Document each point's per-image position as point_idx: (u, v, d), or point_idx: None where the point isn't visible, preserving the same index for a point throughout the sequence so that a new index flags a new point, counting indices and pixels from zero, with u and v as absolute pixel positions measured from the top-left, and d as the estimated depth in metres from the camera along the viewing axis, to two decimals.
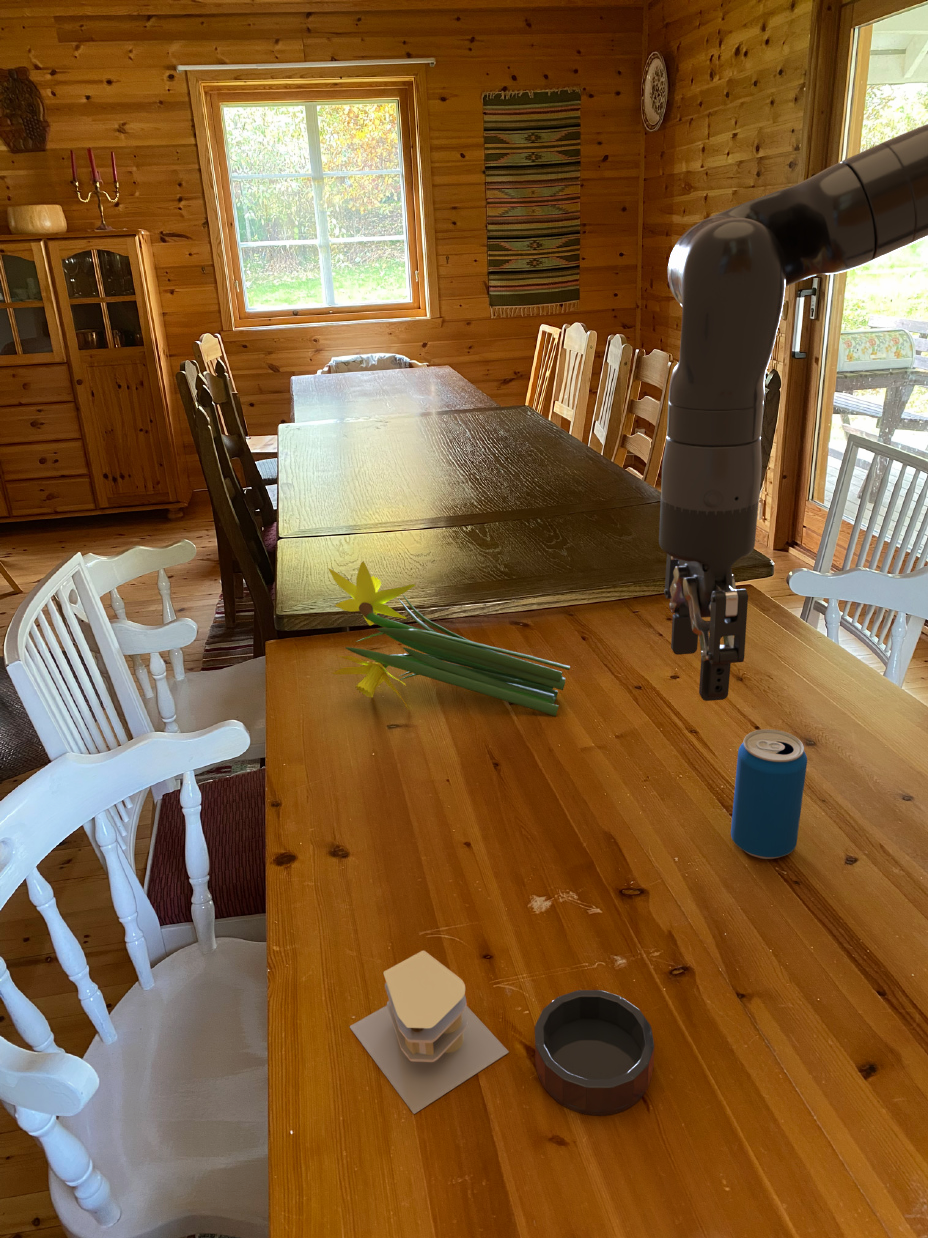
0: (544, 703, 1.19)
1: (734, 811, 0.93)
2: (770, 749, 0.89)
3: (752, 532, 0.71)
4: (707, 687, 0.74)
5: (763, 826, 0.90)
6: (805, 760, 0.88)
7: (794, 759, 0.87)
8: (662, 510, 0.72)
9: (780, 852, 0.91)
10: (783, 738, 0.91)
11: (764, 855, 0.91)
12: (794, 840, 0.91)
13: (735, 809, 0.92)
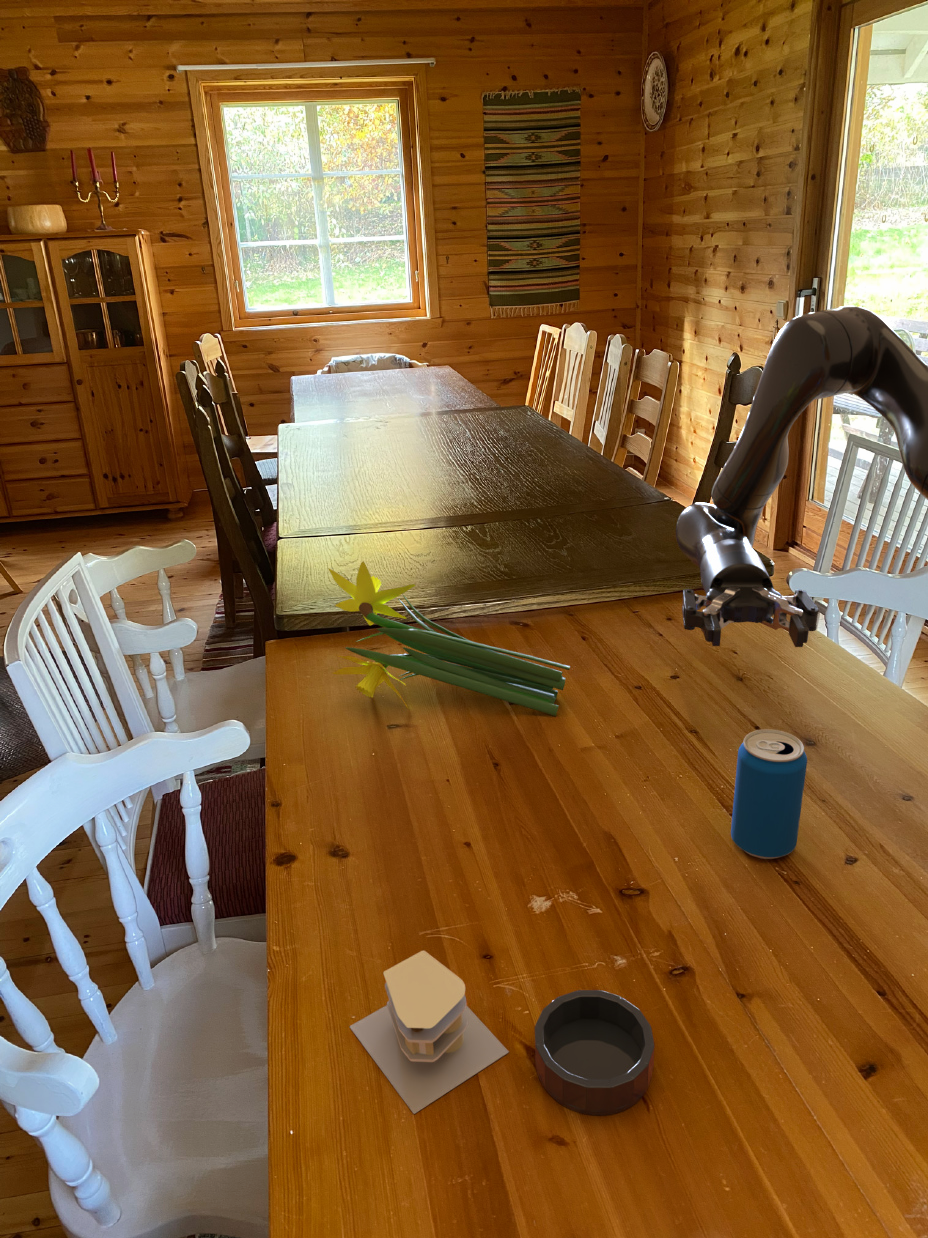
0: (544, 703, 1.19)
1: (734, 811, 0.93)
2: (770, 749, 0.89)
3: (717, 566, 1.08)
4: None
5: (763, 826, 0.90)
6: (805, 760, 0.88)
7: (793, 759, 0.87)
8: None
9: (780, 852, 0.91)
10: (783, 738, 0.91)
11: (764, 855, 0.91)
12: (794, 840, 0.91)
13: (735, 809, 0.92)
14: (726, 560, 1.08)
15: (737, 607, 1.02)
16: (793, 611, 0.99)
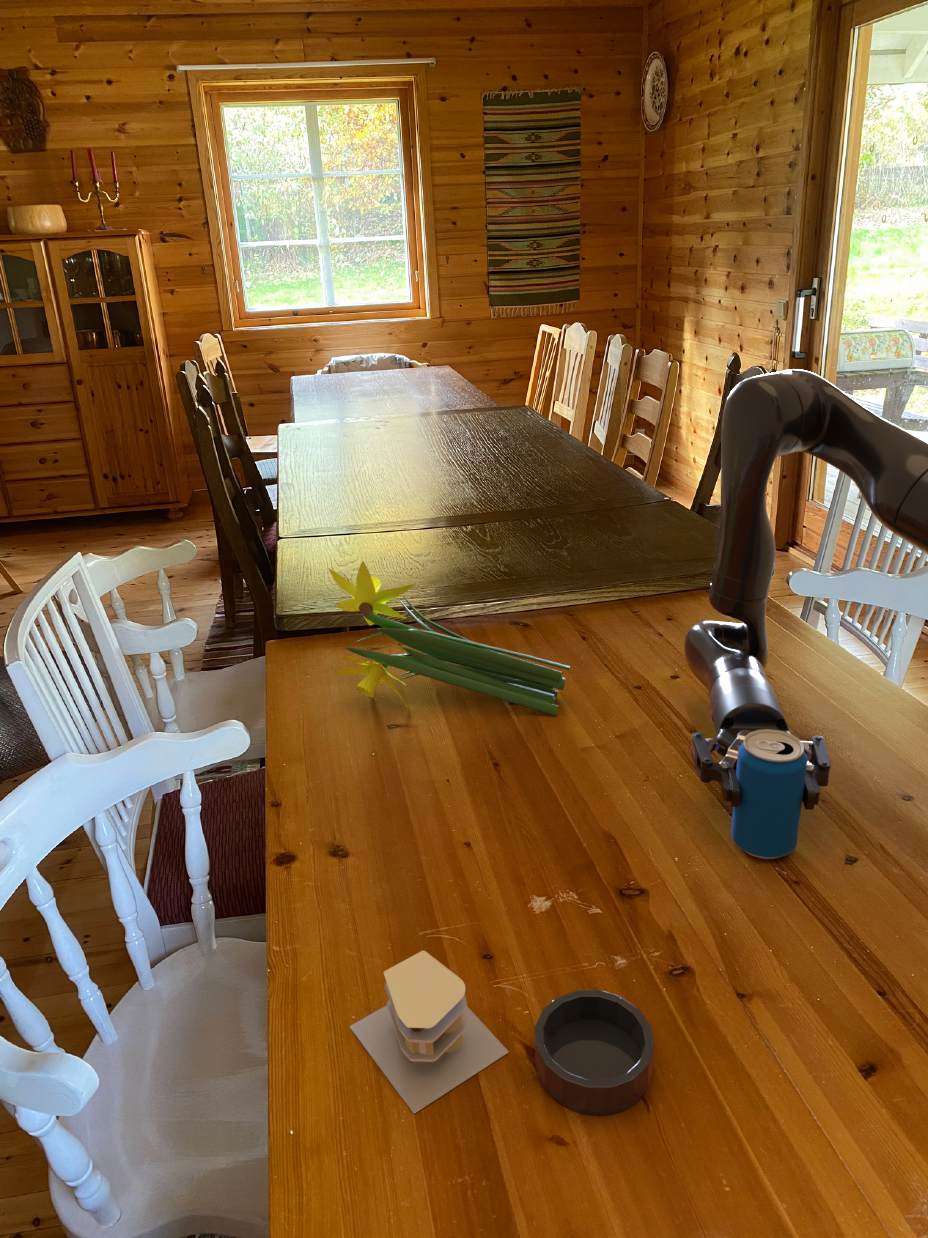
0: (544, 703, 1.19)
1: (734, 811, 0.93)
2: (770, 749, 0.89)
3: (728, 703, 1.01)
4: None
5: (763, 826, 0.90)
6: (805, 760, 0.88)
7: (794, 759, 0.87)
8: None
9: (780, 852, 0.91)
10: (783, 738, 0.91)
11: (764, 855, 0.91)
12: (794, 840, 0.91)
13: (735, 809, 0.92)
14: (737, 697, 1.01)
15: None
16: None
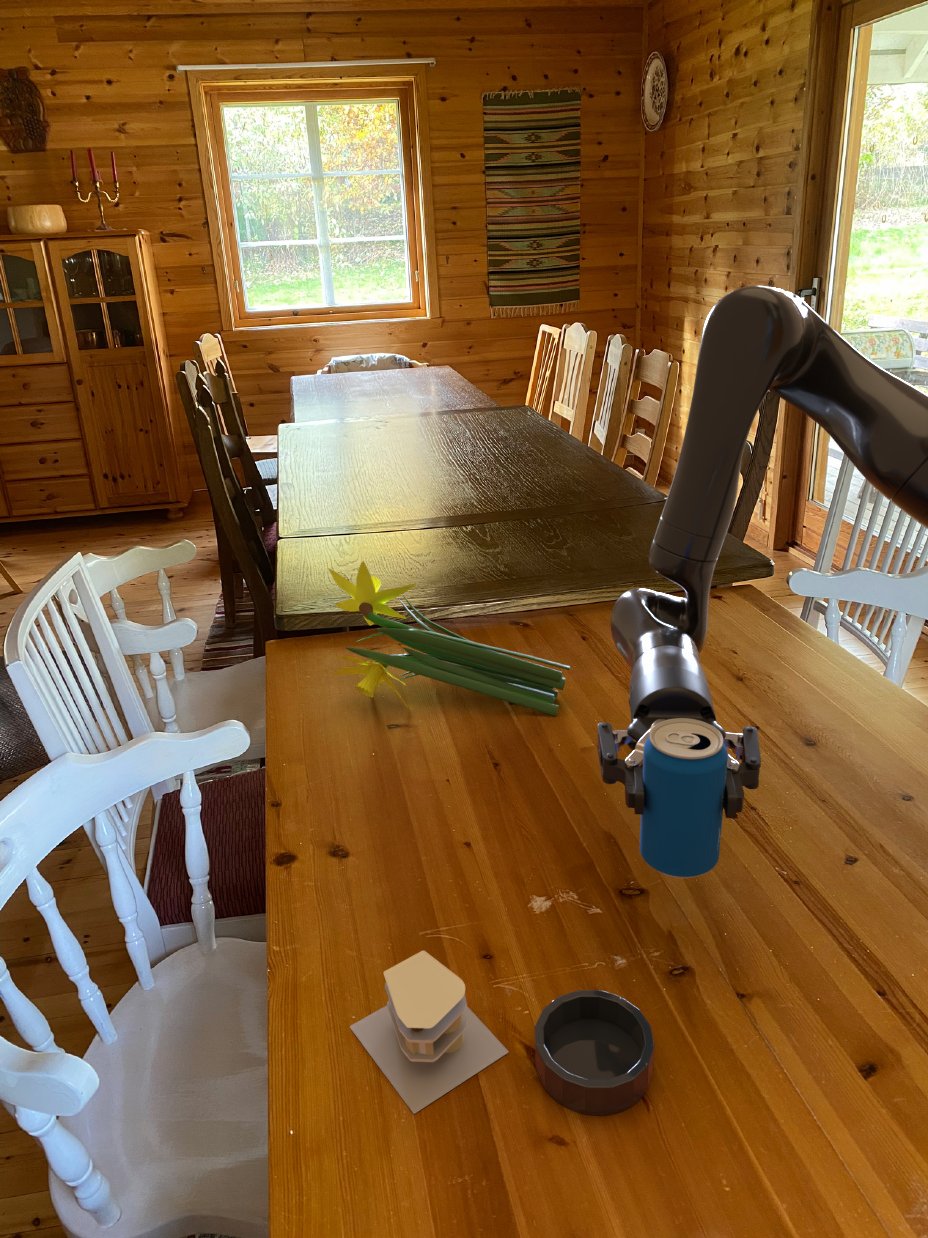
0: (544, 703, 1.19)
1: (641, 819, 0.75)
2: (681, 743, 0.71)
3: (644, 687, 0.83)
4: None
5: (673, 838, 0.72)
6: (724, 757, 0.70)
7: (708, 756, 0.69)
8: None
9: (696, 871, 0.73)
10: (699, 729, 0.73)
11: (676, 874, 0.73)
12: (714, 856, 0.74)
13: (642, 817, 0.75)
14: (656, 680, 0.83)
15: None
16: None
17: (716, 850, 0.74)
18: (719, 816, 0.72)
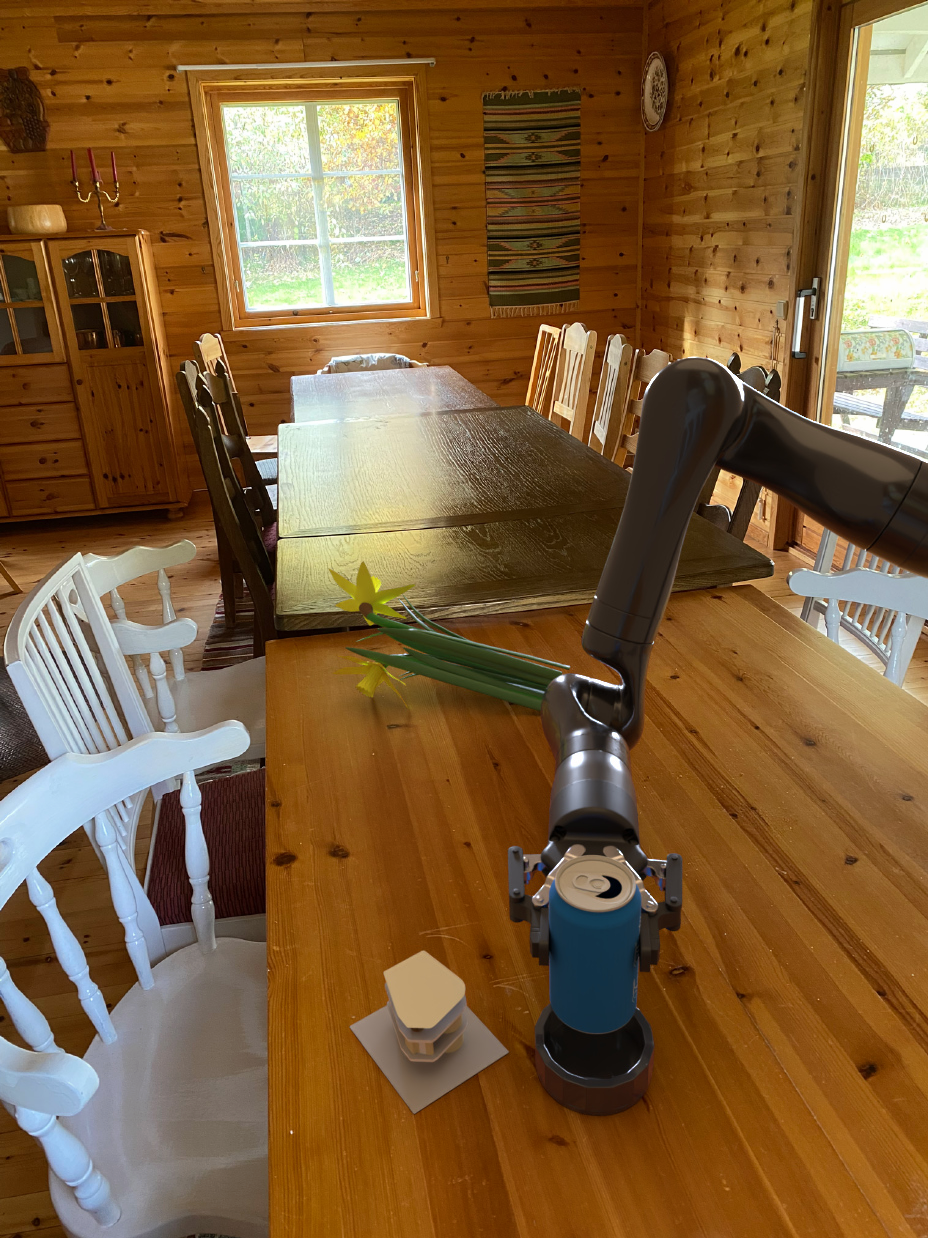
0: None
1: (549, 966, 0.67)
2: (589, 890, 0.63)
3: (562, 804, 0.76)
4: None
5: (581, 994, 0.64)
6: (636, 906, 0.63)
7: (617, 908, 0.62)
8: None
9: (608, 1027, 0.66)
10: (611, 870, 0.65)
11: (586, 1030, 0.66)
12: (629, 1009, 0.66)
13: (550, 964, 0.67)
14: (575, 796, 0.75)
15: None
16: (644, 905, 0.67)
17: (631, 1003, 0.66)
18: (633, 968, 0.65)
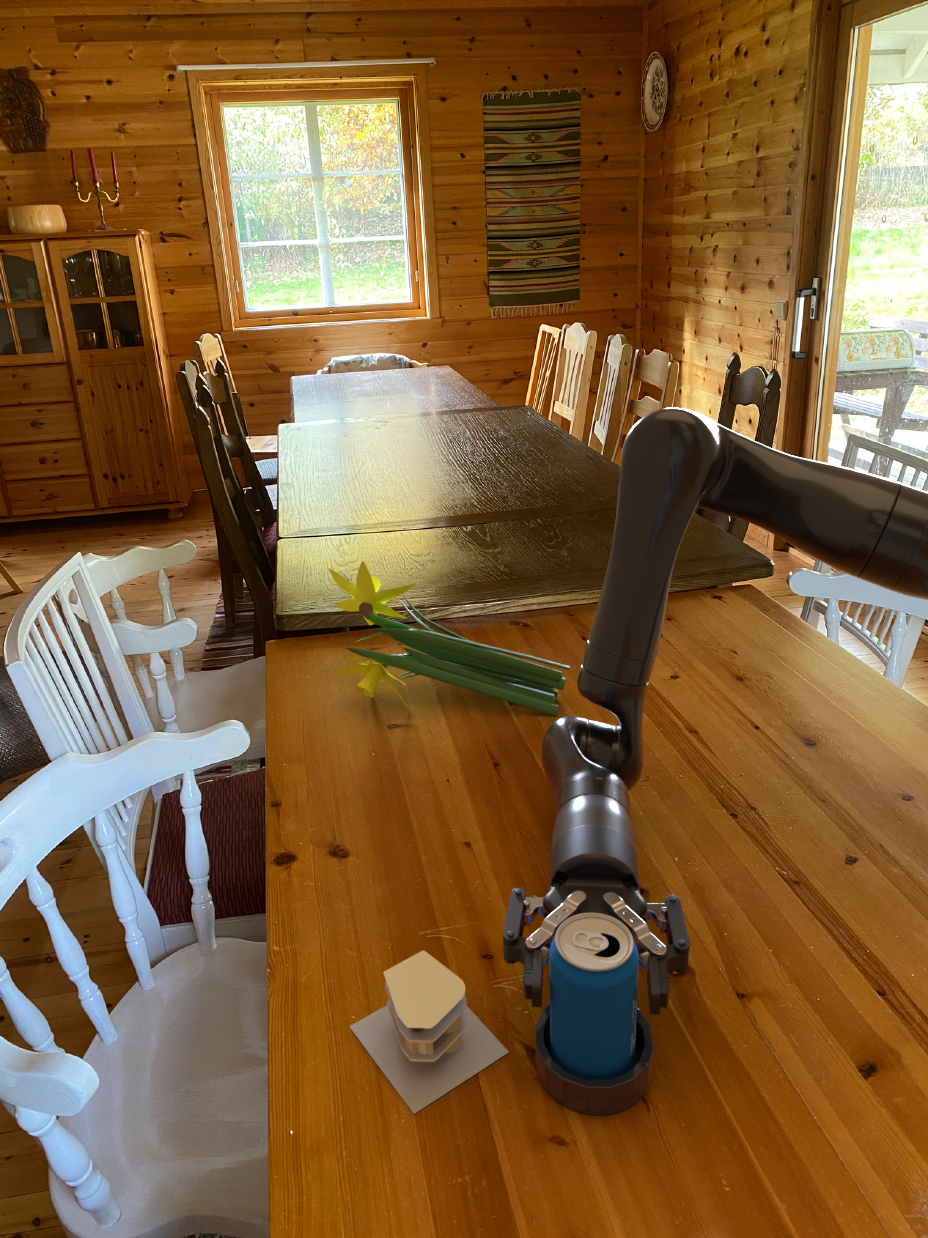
0: (544, 703, 1.19)
1: (550, 1020, 0.70)
2: (588, 948, 0.66)
3: (564, 850, 0.78)
4: None
5: (581, 1049, 0.67)
6: (634, 965, 0.65)
7: (615, 967, 0.64)
8: None
9: None
10: (610, 928, 0.68)
11: None
12: (627, 1062, 0.68)
13: (550, 1018, 0.69)
14: (575, 842, 0.77)
15: None
16: (653, 948, 0.69)
17: (629, 1056, 0.68)
18: (631, 1023, 0.67)
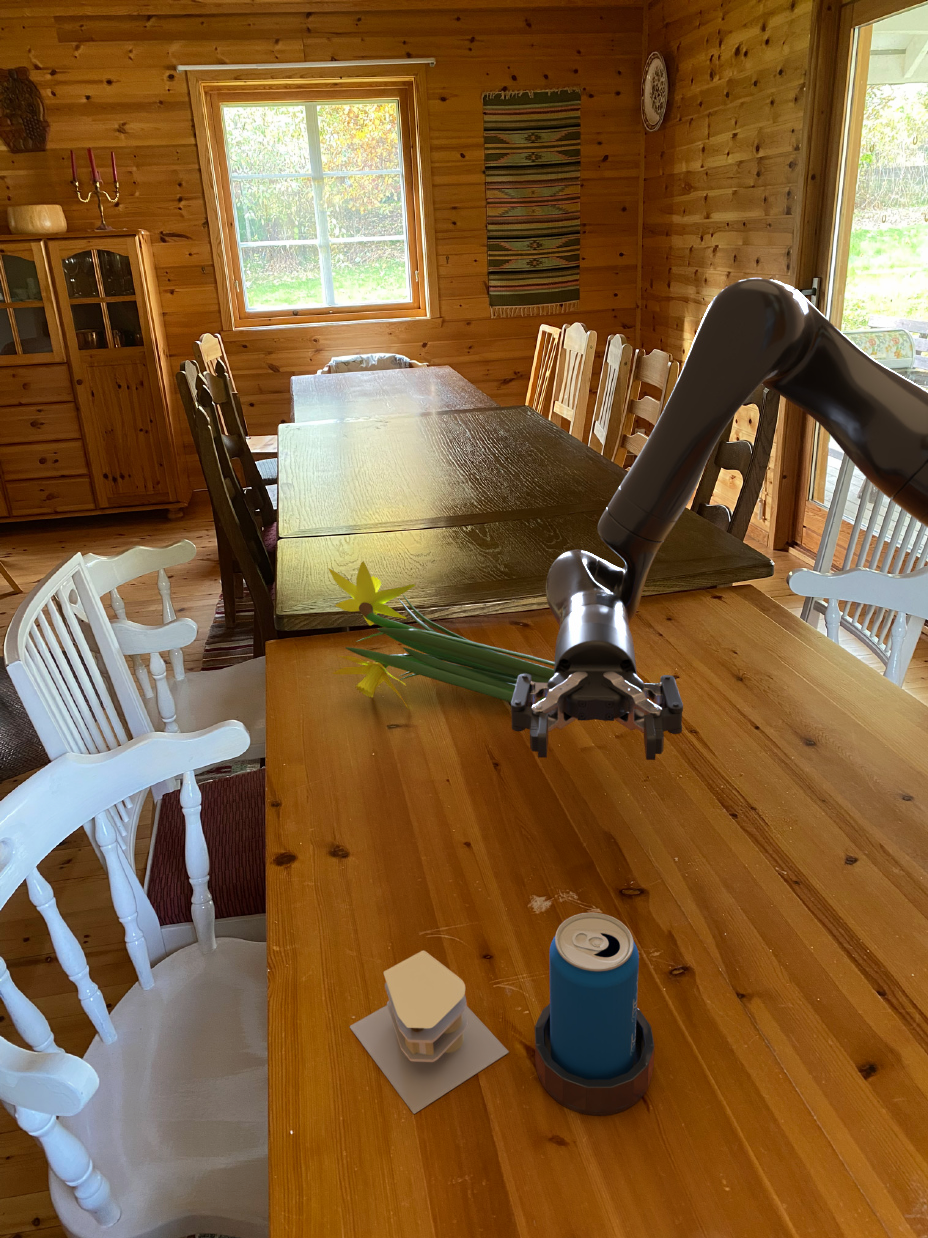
0: None
1: (550, 1020, 0.70)
2: (588, 948, 0.66)
3: (566, 642, 0.84)
4: None
5: (581, 1049, 0.67)
6: (634, 965, 0.65)
7: (615, 967, 0.64)
8: None
9: None
10: (610, 928, 0.68)
11: None
12: (627, 1062, 0.68)
13: (550, 1018, 0.69)
14: (577, 635, 0.84)
15: (580, 701, 0.78)
16: (649, 709, 0.75)
17: (629, 1056, 0.68)
18: (631, 1023, 0.67)
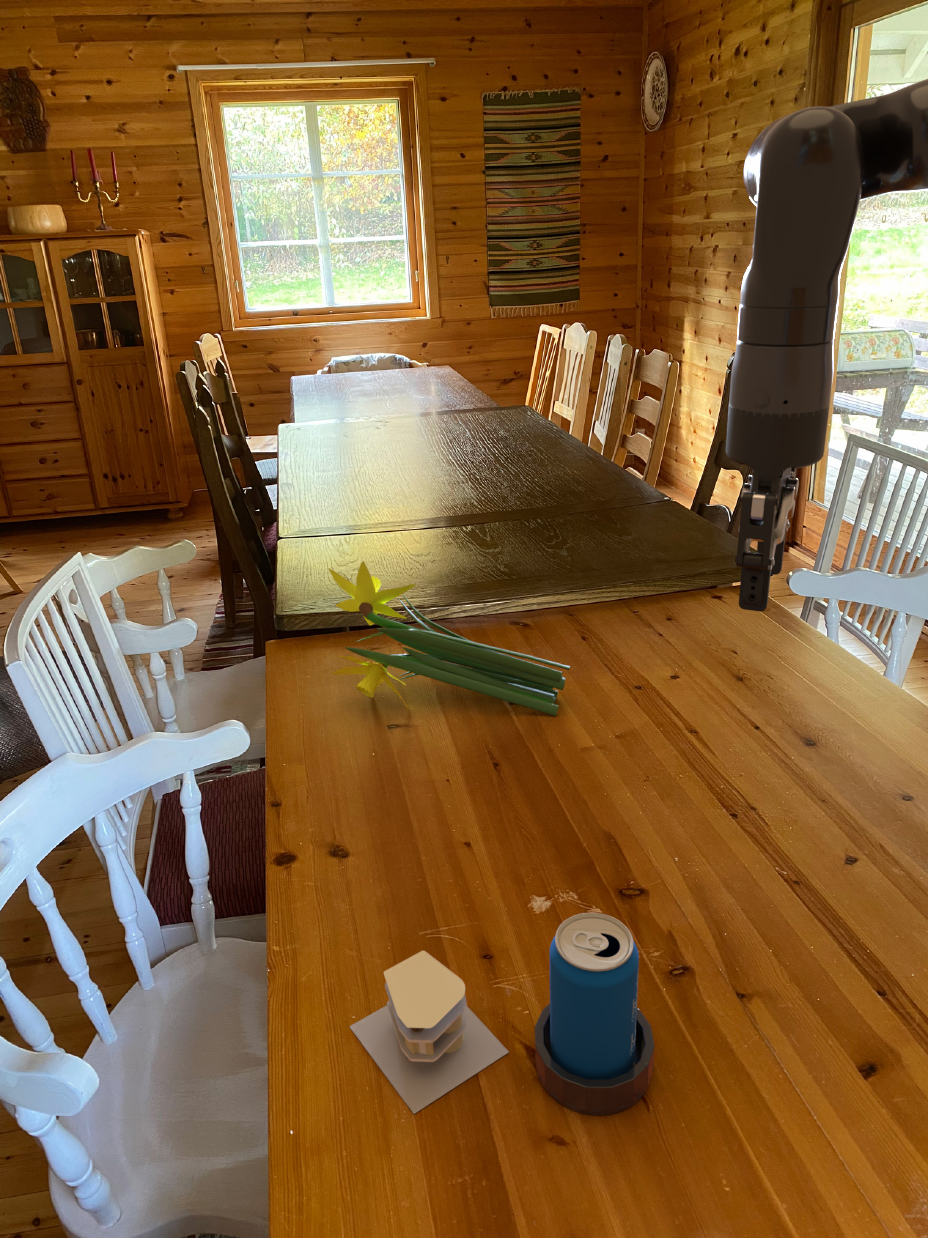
0: (544, 703, 1.19)
1: (550, 1020, 0.70)
2: (588, 948, 0.66)
3: (808, 441, 0.70)
4: None
5: (581, 1049, 0.67)
6: (634, 965, 0.65)
7: (615, 967, 0.64)
8: (728, 412, 0.74)
9: None
10: (610, 928, 0.68)
11: None
12: (627, 1062, 0.68)
13: (550, 1018, 0.69)
14: (819, 436, 0.70)
15: (775, 527, 0.75)
16: (787, 526, 0.80)
17: (629, 1056, 0.68)
18: (631, 1023, 0.67)
